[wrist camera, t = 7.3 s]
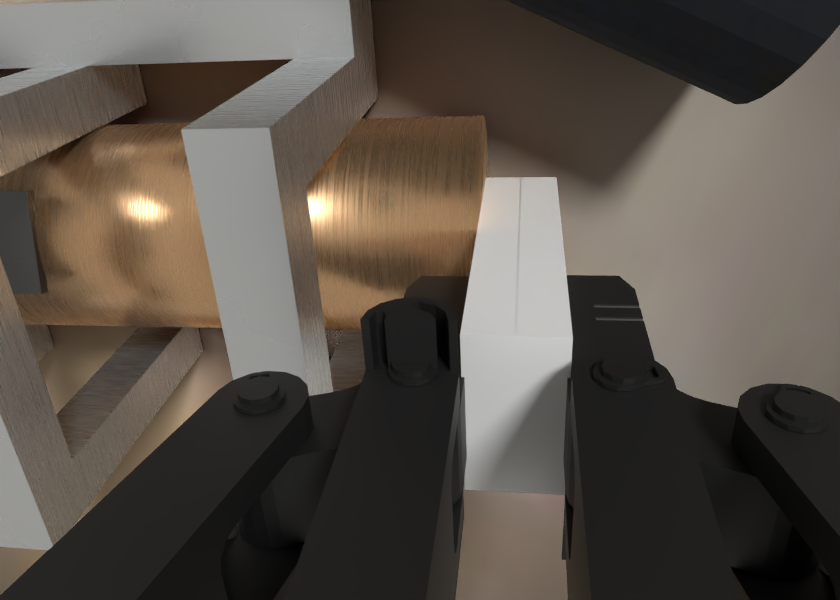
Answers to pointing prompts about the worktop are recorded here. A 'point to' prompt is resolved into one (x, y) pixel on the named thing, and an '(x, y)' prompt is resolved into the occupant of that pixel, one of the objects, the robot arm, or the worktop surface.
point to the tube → (182, 234)
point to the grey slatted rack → (217, 207)
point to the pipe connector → (705, 37)
